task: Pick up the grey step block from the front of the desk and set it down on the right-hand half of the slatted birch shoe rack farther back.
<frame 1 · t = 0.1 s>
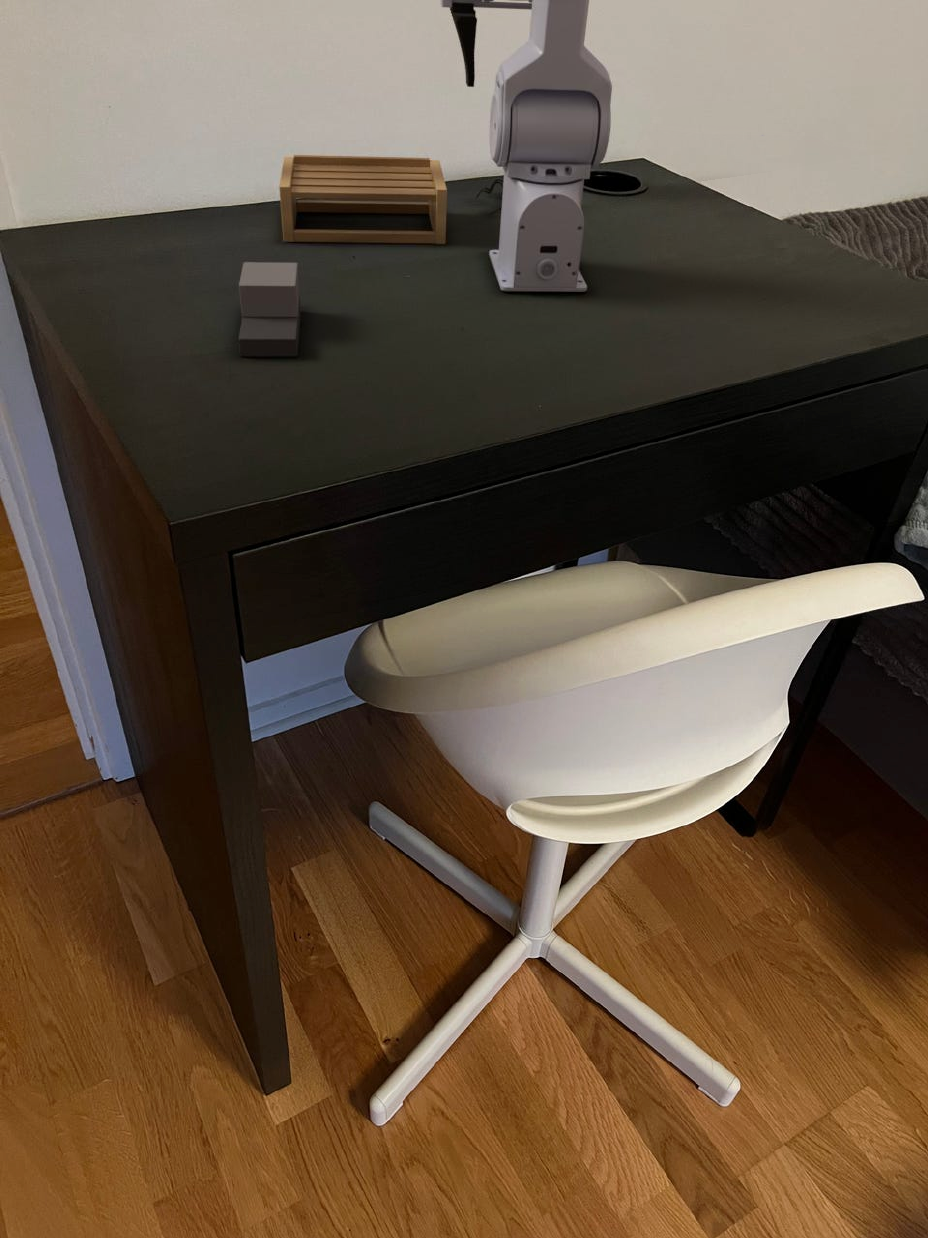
hand: (504, 85, 105), 10 cm above the table, tool pointing down, fingers open, 7 cm apart
creature: (508, 208, 105), on the table
grey step block: (271, 332, 77), on the table
shoe rack: (364, 226, 98), on the table
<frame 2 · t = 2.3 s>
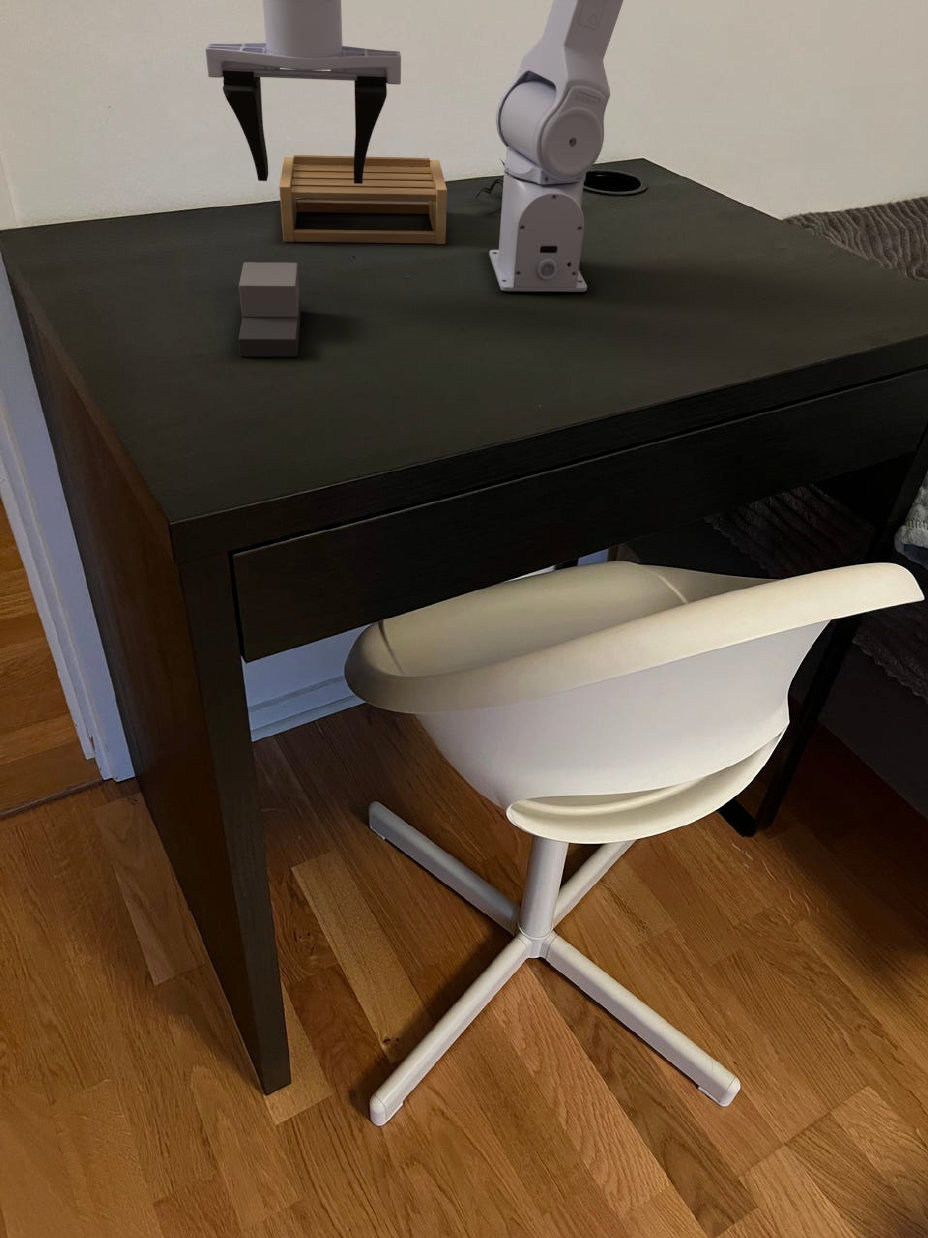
hand: (311, 178, 78), 10 cm above the table, tool pointing down, fingers open, 7 cm apart
nothing on the table moved.
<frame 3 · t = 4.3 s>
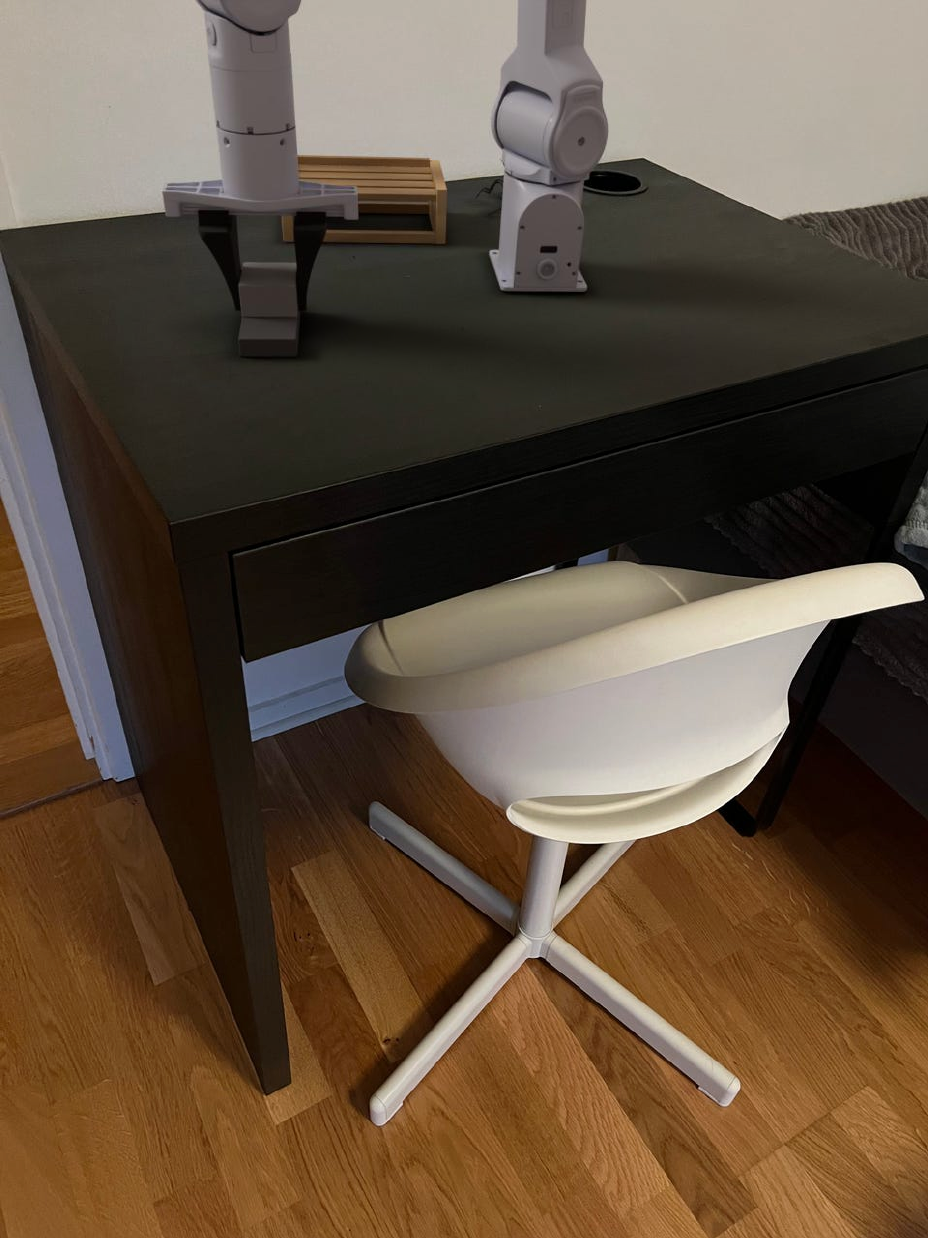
hand: (271, 305, 78), 1 cm above the table, tool pointing down, fingers closed on grey step block, 4 cm apart
grey step block: (271, 332, 77), on the table, touching gripper
everything else where it was.
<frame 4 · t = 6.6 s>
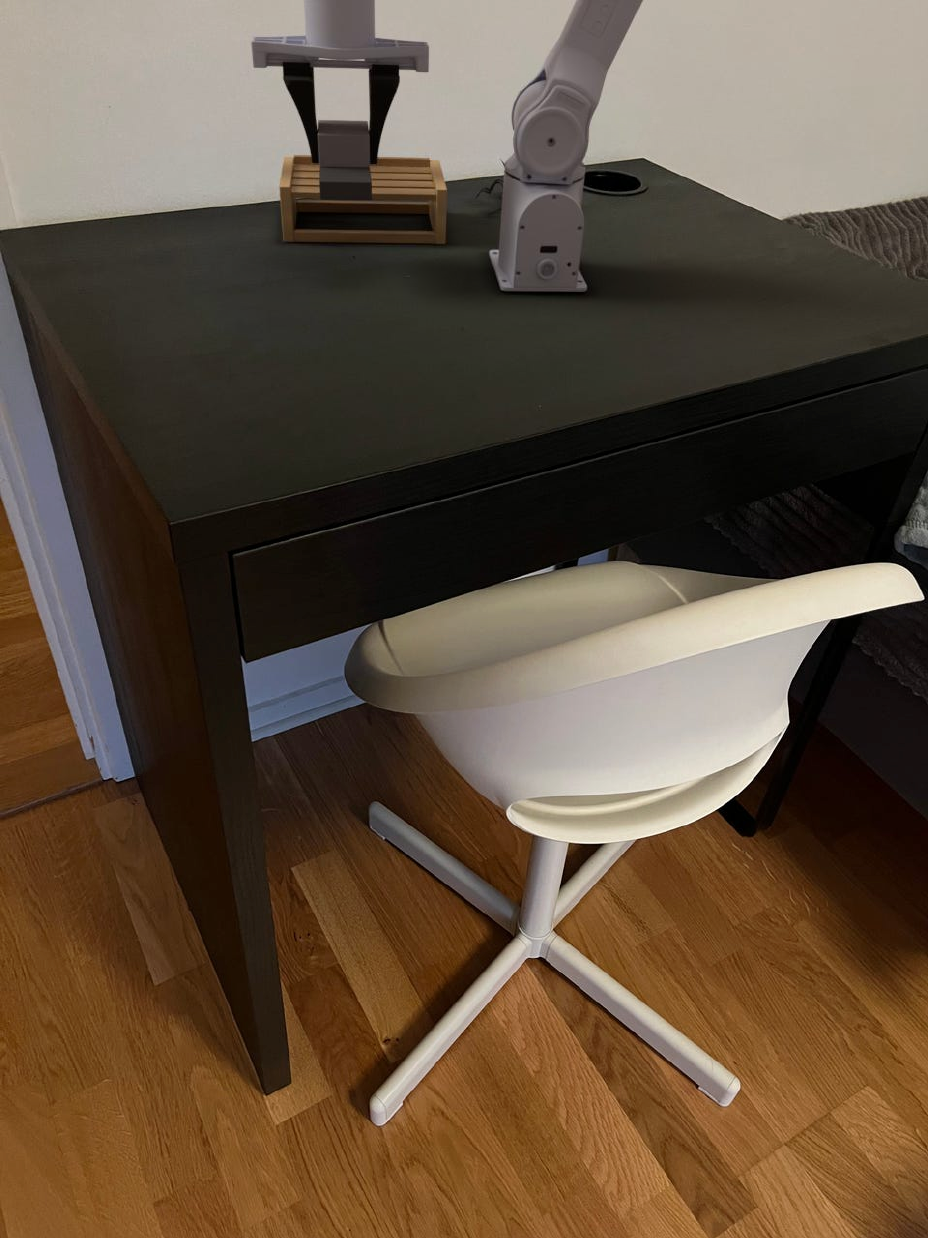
hand: (345, 160, 84), 9 cm above the table, tool pointing down, fingers closed on grey step block, 4 cm apart
grey step block: (345, 183, 84), point 8 cm above the table, touching gripper
everything else where it was.
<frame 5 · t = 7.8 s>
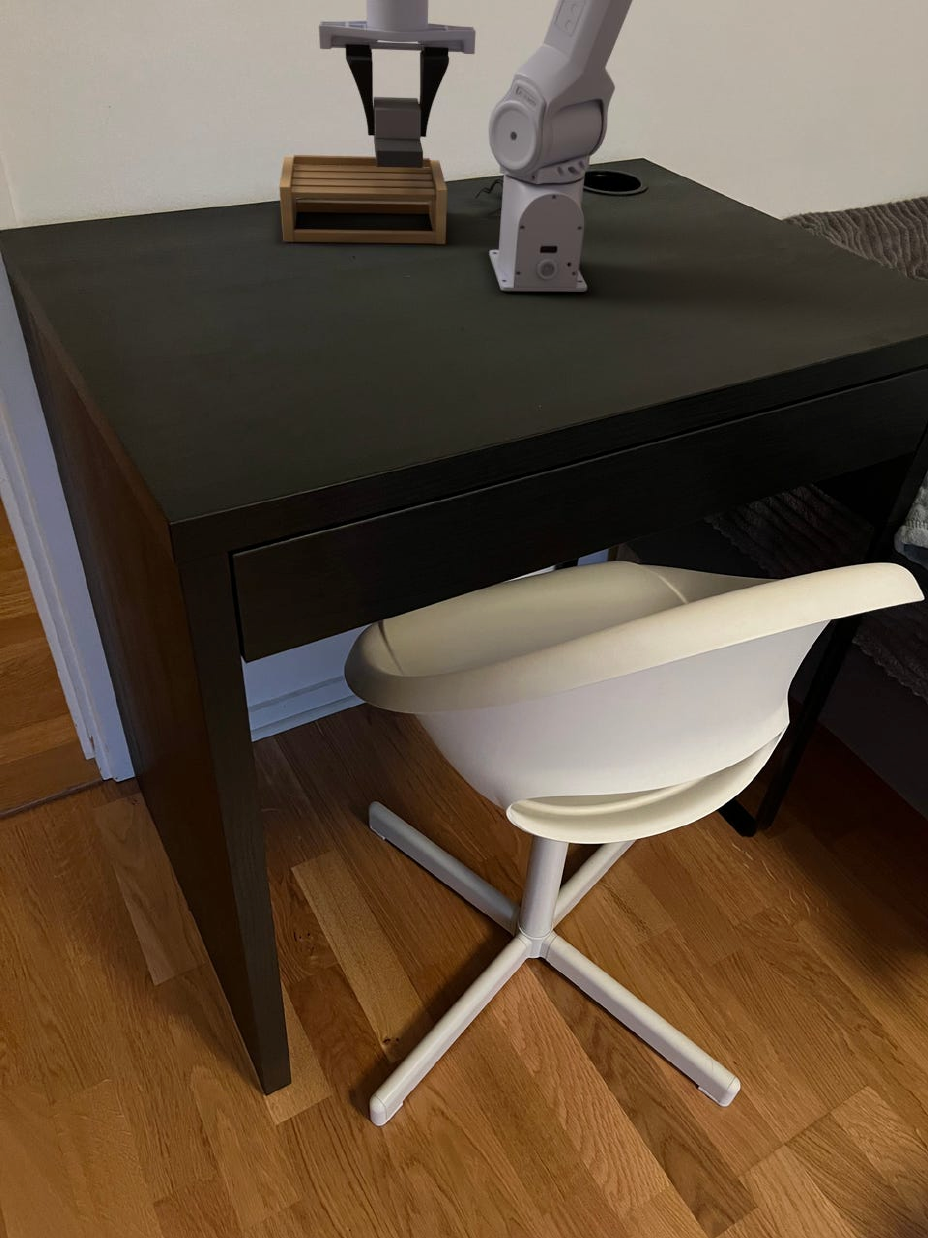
hand: (397, 133, 94), 8 cm above the table, tool pointing down, fingers closed on grey step block, 4 cm apart
grey step block: (397, 154, 94), point 7 cm above the table, touching gripper
everything else where it was.
when the fingers open (7 cm above the table, at t = 8.8 s): grey step block stays where it is, resting on shoe rack.
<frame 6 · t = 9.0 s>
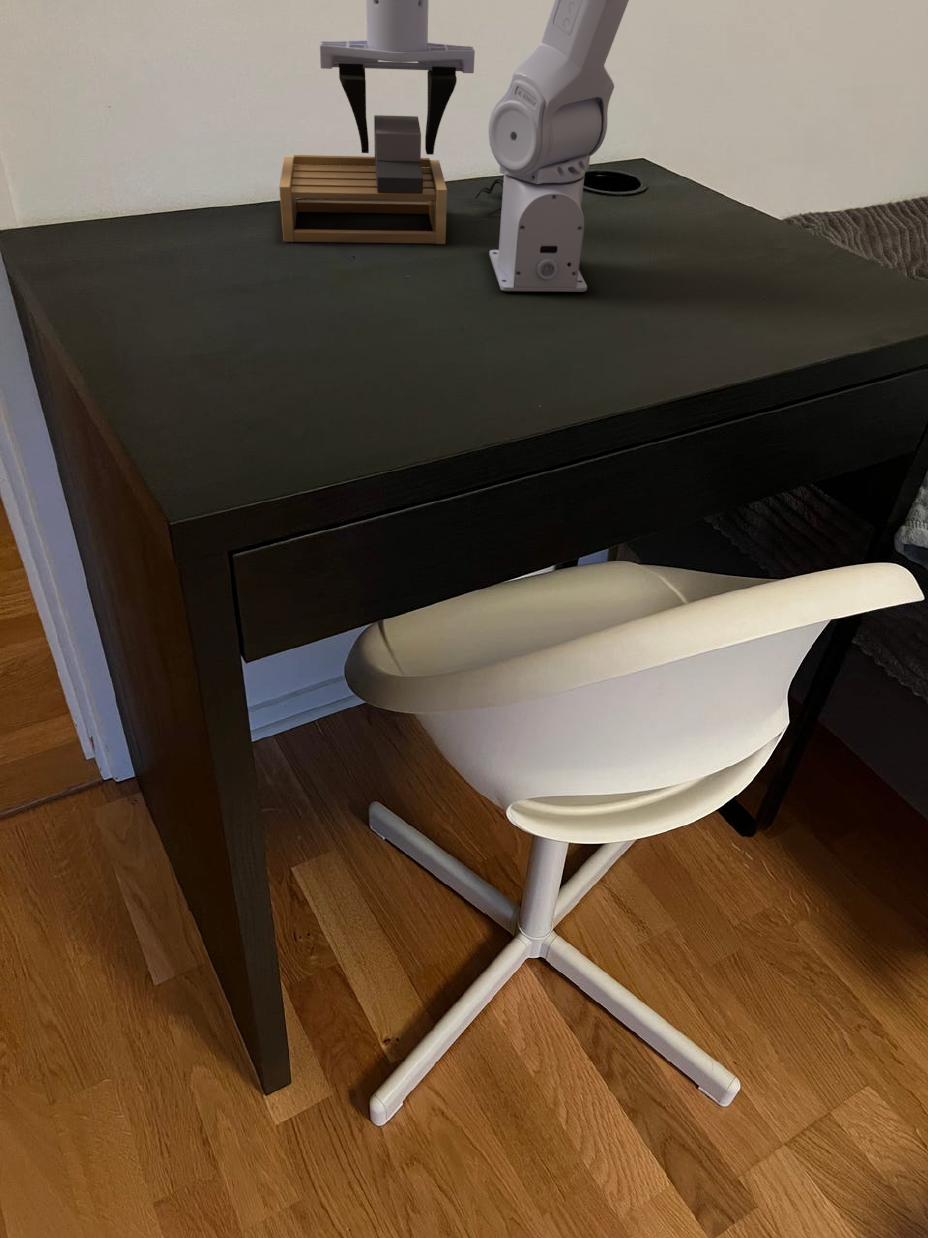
hand: (397, 150, 95), 7 cm above the table, tool pointing down, fingers open, 6 cm apart
grey step block: (398, 174, 95), point 5 cm above the table, tilted 5°, touching shoe rack
everything else where it was.
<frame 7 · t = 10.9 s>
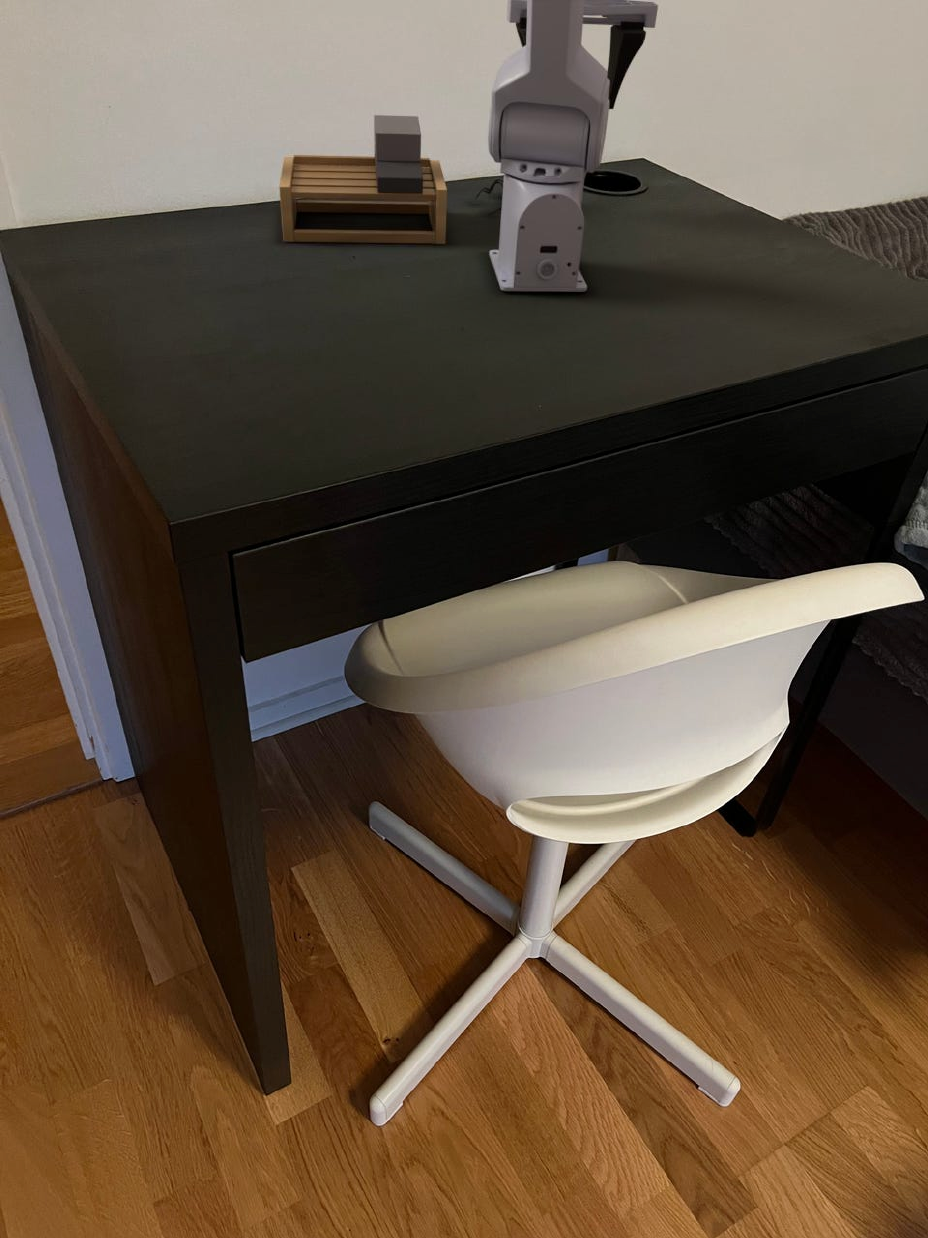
hand: (571, 105, 98), 10 cm above the table, tool pointing down, fingers open, 7 cm apart
nothing on the table moved.
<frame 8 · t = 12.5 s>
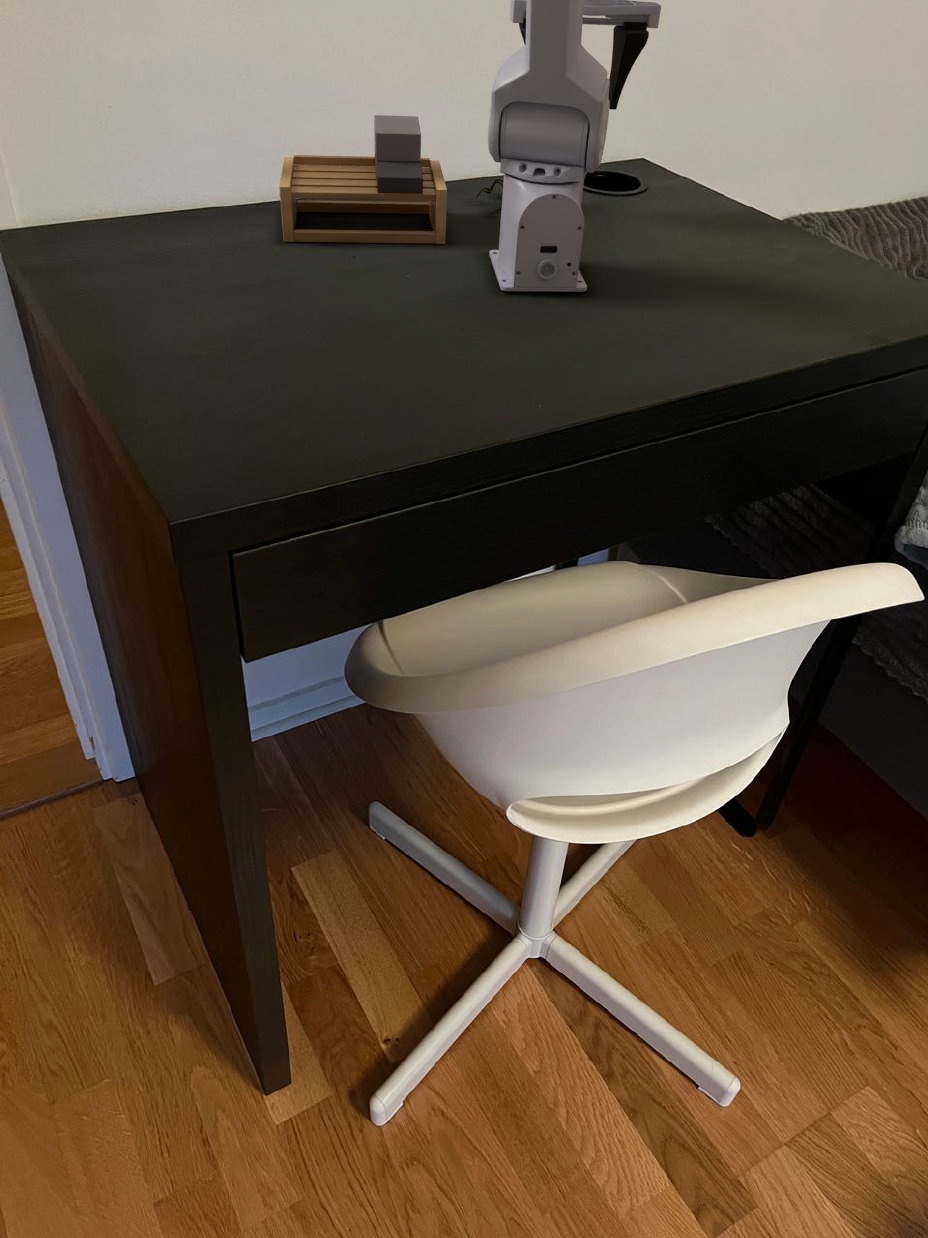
hand: (574, 106, 98), 10 cm above the table, tool pointing down, fingers open, 7 cm apart
nothing on the table moved.
at the end: grey step block inside the target area on the shoe rack (0.1 cm from its centre), point 5.0 cm above the shoe rack's base; grey step block tilted 5°; the gripper is holding nothing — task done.
